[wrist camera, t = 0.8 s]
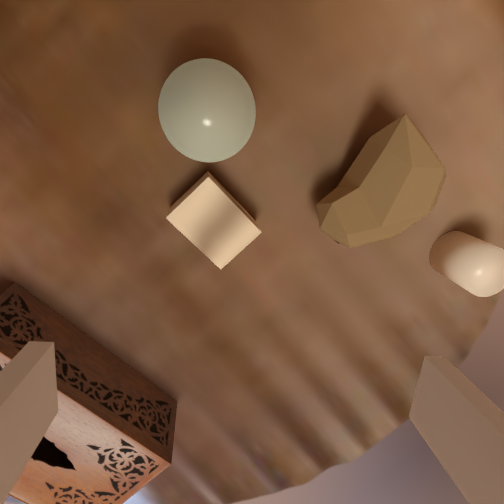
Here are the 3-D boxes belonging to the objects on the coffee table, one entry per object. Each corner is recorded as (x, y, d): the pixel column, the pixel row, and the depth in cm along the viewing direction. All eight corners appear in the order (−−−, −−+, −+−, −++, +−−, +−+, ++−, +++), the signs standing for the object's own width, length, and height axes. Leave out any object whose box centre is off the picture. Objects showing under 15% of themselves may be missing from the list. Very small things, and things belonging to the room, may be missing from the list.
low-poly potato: (415, 113, 41) (351, 85, 34) (499, 159, 34) (441, 136, 27) (346, 219, 49) (283, 214, 42) (404, 274, 42) (340, 278, 35)
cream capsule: (424, 242, 46) (461, 262, 40) (467, 223, 46) (511, 239, 40) (434, 280, 49) (470, 304, 42) (475, 262, 48) (518, 283, 42)
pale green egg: (154, 93, 37) (139, 84, 28) (225, 59, 36) (231, 40, 28) (190, 166, 40) (186, 177, 31) (256, 135, 39) (270, 138, 31)
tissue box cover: (177, 400, 50) (171, 464, 41) (106, 460, 52) (85, 533, 43) (16, 281, 42) (-39, 326, 32) (-62, 357, 44) (-134, 421, 34)
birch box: (170, 207, 41) (165, 217, 36) (207, 170, 40) (208, 176, 35) (218, 253, 44) (220, 269, 39) (255, 220, 43) (261, 232, 38)
